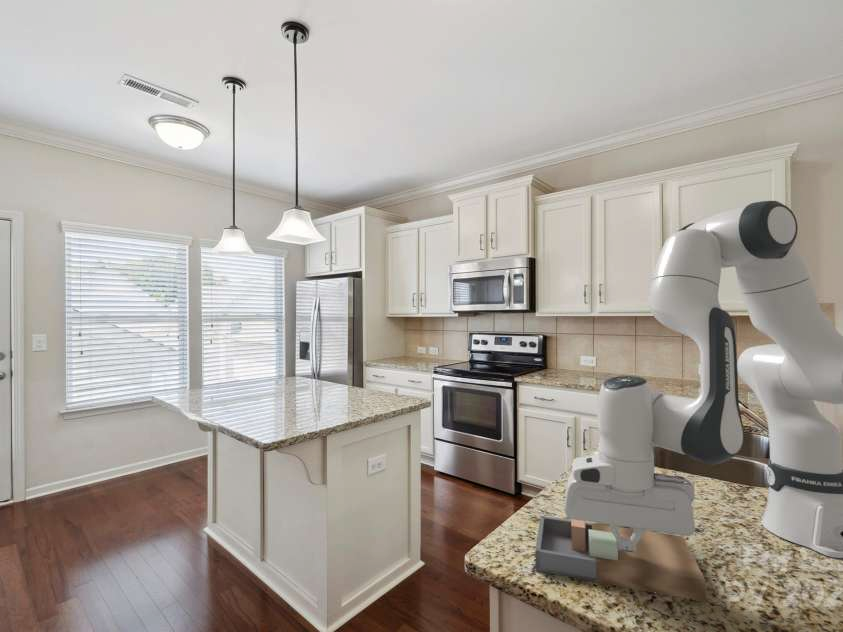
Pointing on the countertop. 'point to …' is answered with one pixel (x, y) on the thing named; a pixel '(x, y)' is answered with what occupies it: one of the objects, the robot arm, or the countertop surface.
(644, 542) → the board
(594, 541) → the tile sage
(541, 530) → the tray
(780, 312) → the robot arm
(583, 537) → the tile terracotta
